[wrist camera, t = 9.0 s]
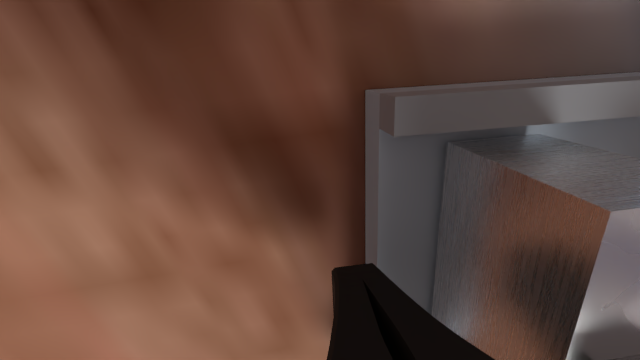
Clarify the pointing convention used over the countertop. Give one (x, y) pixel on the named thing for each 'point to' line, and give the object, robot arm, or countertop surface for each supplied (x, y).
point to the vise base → (467, 124)
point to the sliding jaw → (540, 249)
